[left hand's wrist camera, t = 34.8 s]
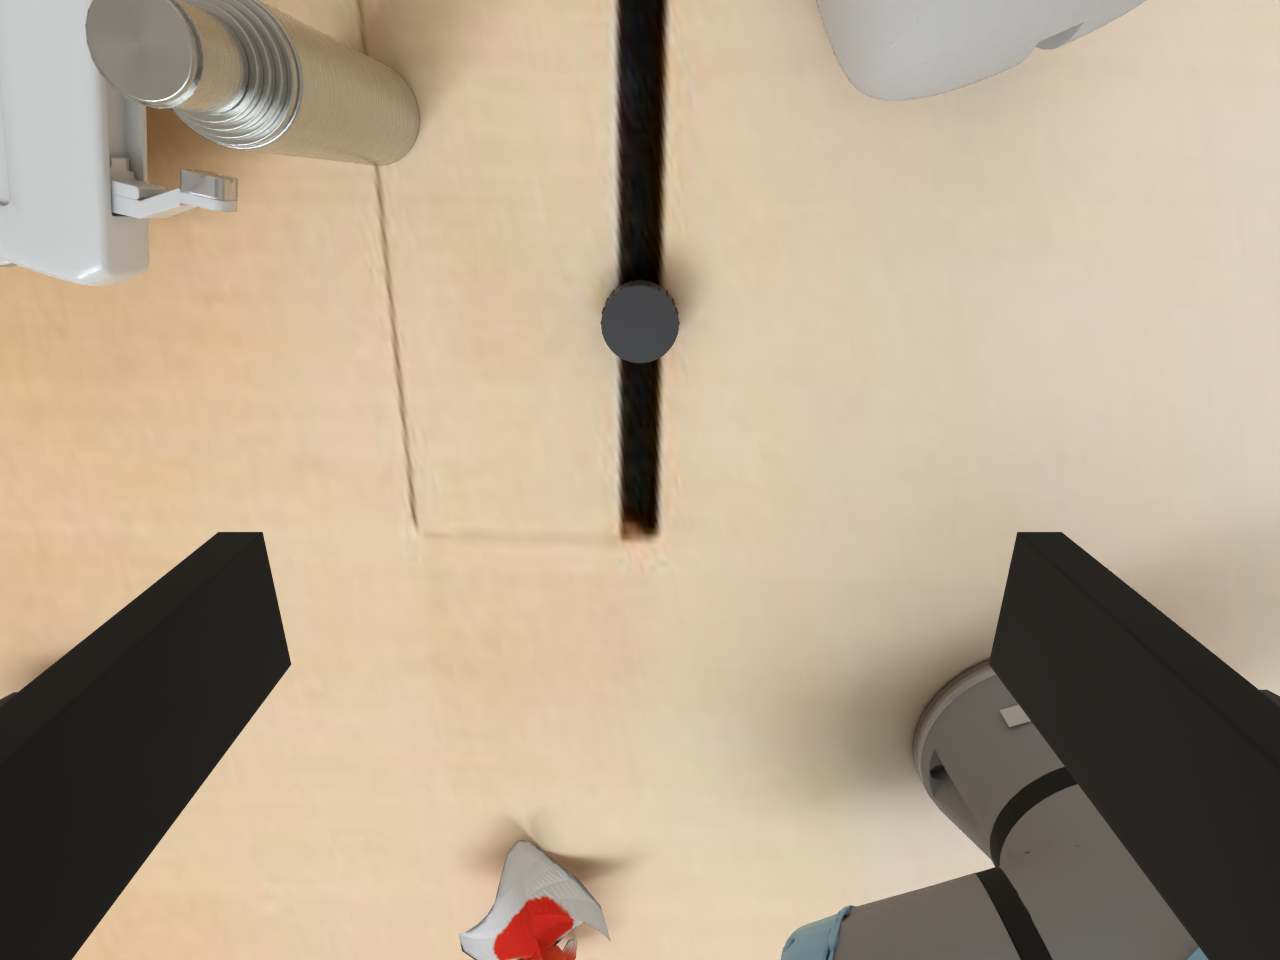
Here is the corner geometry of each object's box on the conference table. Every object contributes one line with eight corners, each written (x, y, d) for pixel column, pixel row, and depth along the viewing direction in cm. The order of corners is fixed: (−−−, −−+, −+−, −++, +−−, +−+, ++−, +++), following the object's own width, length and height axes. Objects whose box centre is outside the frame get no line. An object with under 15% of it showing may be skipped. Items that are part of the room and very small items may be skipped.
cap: (598, 349, 42) (596, 358, 40) (607, 274, 41) (605, 279, 38) (671, 359, 43) (673, 368, 40) (682, 284, 41) (685, 290, 39)
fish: (440, 1017, 57) (459, 1115, 48) (457, 818, 58) (478, 877, 49) (568, 993, 62) (608, 1079, 52) (582, 807, 63) (624, 859, 53)
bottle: (341, 41, 37) (64, -101, 19) (433, 89, 37) (249, -4, 20) (313, 137, 38) (34, 89, 21) (401, 182, 39) (205, 171, 21)
